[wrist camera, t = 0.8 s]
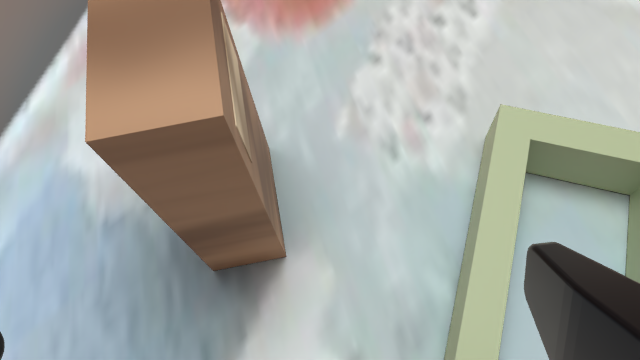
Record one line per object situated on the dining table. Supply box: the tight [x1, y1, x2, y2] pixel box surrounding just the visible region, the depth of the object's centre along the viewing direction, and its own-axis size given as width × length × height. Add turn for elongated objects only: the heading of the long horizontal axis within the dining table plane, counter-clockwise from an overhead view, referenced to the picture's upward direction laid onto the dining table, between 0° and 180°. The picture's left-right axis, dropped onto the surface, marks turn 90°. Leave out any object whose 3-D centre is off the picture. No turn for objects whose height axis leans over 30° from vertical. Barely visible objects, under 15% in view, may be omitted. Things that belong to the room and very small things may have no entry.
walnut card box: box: [85, 0, 286, 271], centre depth 20 cm, size 6×4×12 cm, turn 11°
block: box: [444, 105, 640, 360], centre depth 21 cm, size 14×8×3 cm, turn 164°
